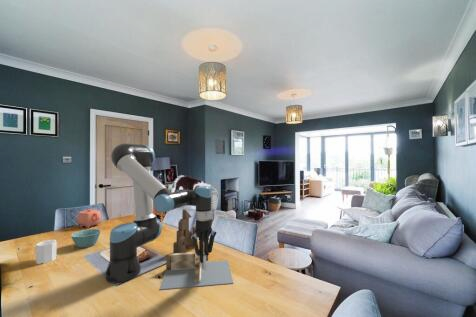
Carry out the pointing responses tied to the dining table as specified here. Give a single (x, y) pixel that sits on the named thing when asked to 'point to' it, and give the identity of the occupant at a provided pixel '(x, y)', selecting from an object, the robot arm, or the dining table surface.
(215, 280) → the card
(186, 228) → the wooden toy
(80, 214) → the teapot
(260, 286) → the dining table surface
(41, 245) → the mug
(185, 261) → the beige wooden panel
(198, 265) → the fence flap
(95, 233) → the bowl
